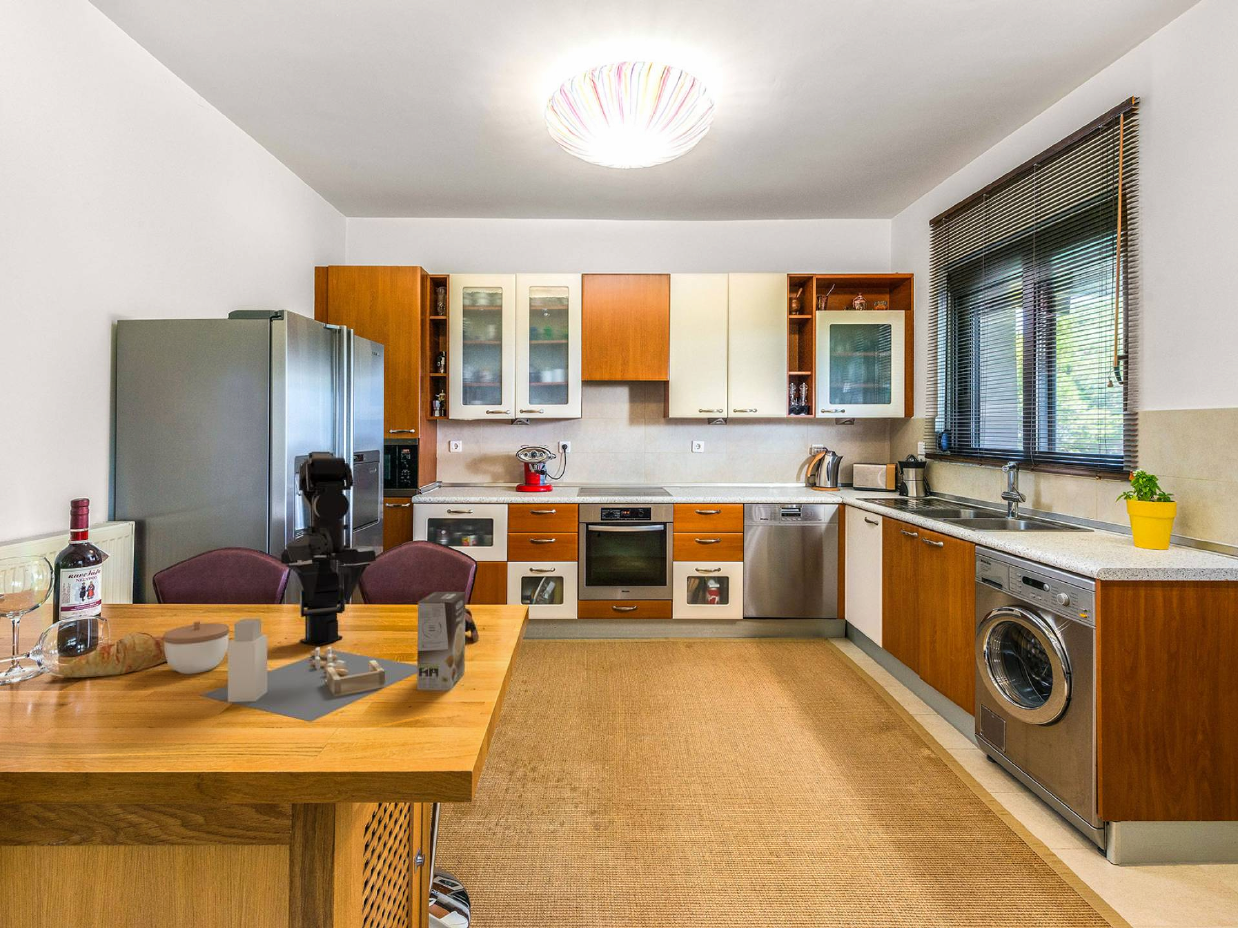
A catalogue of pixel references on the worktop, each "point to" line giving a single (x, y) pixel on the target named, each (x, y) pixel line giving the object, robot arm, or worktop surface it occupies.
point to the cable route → (328, 661)
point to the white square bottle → (247, 662)
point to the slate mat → (315, 686)
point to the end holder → (356, 680)
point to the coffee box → (441, 640)
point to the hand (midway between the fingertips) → (328, 599)
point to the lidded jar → (196, 646)
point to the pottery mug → (470, 625)
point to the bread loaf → (118, 657)
